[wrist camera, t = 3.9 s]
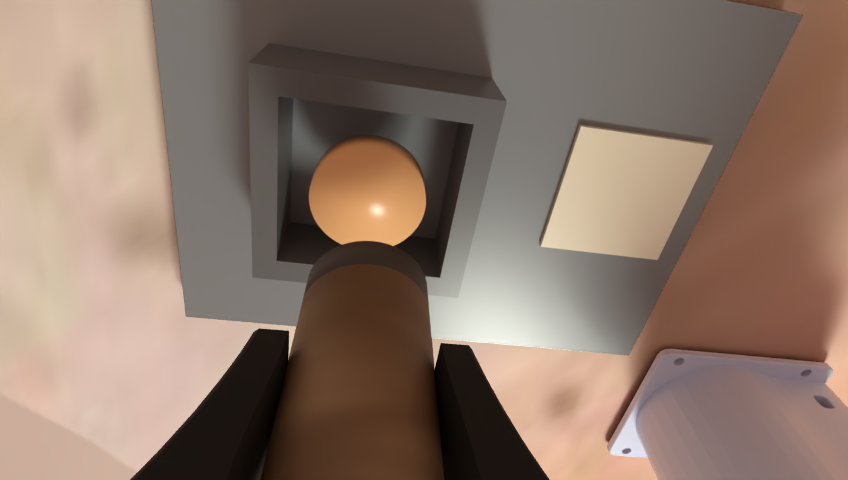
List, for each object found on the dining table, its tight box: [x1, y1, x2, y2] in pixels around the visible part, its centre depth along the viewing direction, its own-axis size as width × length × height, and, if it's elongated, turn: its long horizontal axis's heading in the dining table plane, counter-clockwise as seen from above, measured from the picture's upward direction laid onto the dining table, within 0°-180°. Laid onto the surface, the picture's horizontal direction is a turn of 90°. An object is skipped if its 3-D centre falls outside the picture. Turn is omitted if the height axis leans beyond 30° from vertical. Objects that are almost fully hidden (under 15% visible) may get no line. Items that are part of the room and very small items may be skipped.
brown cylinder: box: [260, 241, 444, 480], centre depth 10 cm, size 3×3×9 cm
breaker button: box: [309, 135, 426, 246], centre depth 16 cm, size 4×4×1 cm
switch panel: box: [151, 0, 803, 355], centre depth 18 cm, size 20×15×4 cm
